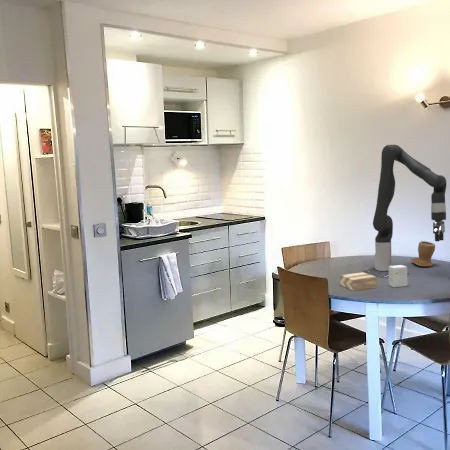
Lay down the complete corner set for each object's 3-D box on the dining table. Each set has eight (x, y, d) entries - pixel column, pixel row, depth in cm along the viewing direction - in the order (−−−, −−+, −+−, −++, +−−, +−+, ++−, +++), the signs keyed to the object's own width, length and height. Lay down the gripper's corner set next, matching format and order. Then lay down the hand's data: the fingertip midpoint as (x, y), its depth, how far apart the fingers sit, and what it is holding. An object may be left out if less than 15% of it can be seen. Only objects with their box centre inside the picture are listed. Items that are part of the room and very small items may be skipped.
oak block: (340, 285, 277) (339, 274, 277) (362, 282, 281) (362, 272, 281) (353, 291, 264) (353, 280, 263) (377, 288, 268) (377, 277, 267)
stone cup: (438, 267, 308) (438, 243, 306) (418, 268, 308) (418, 243, 306) (429, 262, 323) (429, 239, 321) (410, 263, 323) (410, 239, 321)
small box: (402, 283, 274) (402, 264, 272) (407, 286, 268) (407, 266, 267) (388, 285, 272) (388, 265, 271) (393, 287, 267) (393, 267, 265)
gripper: (434, 211, 287) (435, 240, 287) (427, 211, 276) (428, 241, 276) (449, 211, 283) (449, 240, 283) (442, 211, 271) (443, 241, 272)
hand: (439, 240), depth 280 cm, fingers open, 8 cm apart
